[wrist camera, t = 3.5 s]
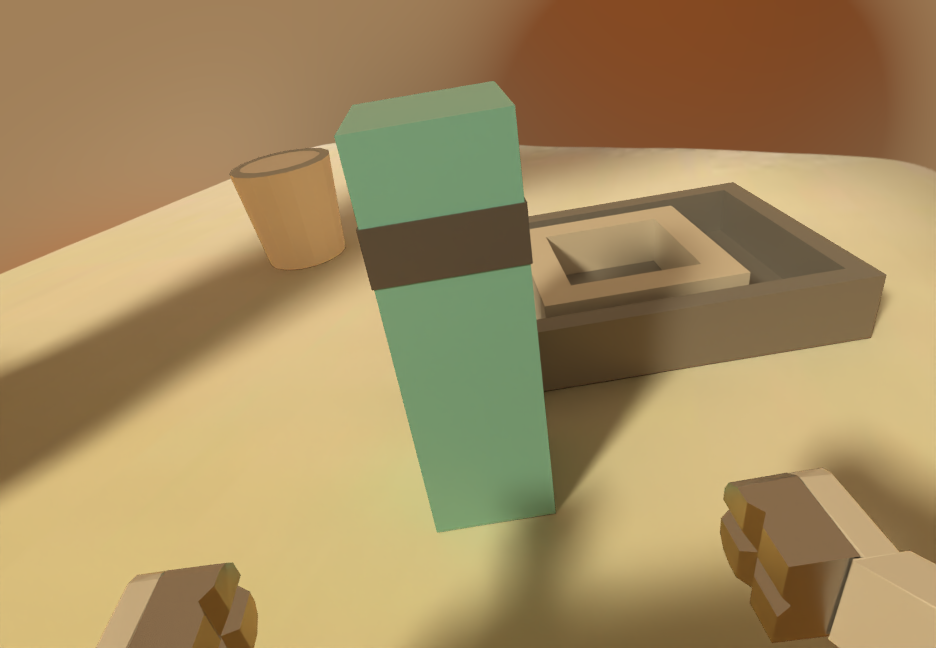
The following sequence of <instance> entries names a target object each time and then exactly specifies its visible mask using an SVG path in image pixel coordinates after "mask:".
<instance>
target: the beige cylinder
mask: <svg viewBox="0 0 936 648" xmlns="http://www.w3.org/2000/svg"><path fill="white" fill-rule="evenodd" d="M229 175H230V177H231V180H232V182H233V184H234V186H235V188H236V190H237V192H238V195H239V197H240V199H241V201H242V203H243V205H244V207H245V210H246V212H247V214H248V216H249V218H250V220H251V222H252V225H253V227H254V229H255V231H256V233H257V235H258V237H259V240H260V242H261V244H262V246H263V248H264V250H265V252H266V255H267V257H268V259H269V261H270V263H271V265H272V266H274V267H275V268H276V269H283V270H295V269H303V268H308V267H312V266H316V265H319V264H322V263H324V262H327V261H329V260H331V259H333V258H334V257H336V256H338V255H339V254H341V253H342V251H343V250H344V249H345V241H344V236H343V230H342V224H341V219H340V213H339V207H338V202H337V196H336V190H335V185H334V179H333V173H332V168H331V162H330V157H329V151H328V150H326V149H322V148H305V149H297V150H289V151H283V152H279V153H274V154H270V155H267V156H263V157H260V158H257V159H254V160H252V161H249V162H246V163H244V164H241V165H239V166H238V167H236V168H235V169H233V170H231V172H230V174H229Z"/></svg>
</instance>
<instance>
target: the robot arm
mask: <svg viewBox="0 0 936 648" xmlns="http://www.w3.org/2000/svg"><path fill="white" fill-rule="evenodd" d="M723 500H724V501H725V503H726V505H727V506H728V508H729V510H728V511H727V512H726V513H725V515H724V516H723V517H722V518H721V526H720V535H721V540H722V545H723V550H724V552H725V555H726V558H727V560H728V563H729V565H730V567H731V569H732V570H733V572H734V574H735V576H736V577H737V578H738V579H740V580H741V581H743V582H744V583H746V584H747V585H749V586H750V587H752V591H751V597H750V604H751V606H752V608H753V610H754V611H755V613H756V615H757V617H758V619H759V621H760V622H761V624H762V626H763V628H764V630H765V631H766V633H767V635H768V637H769V639H770V641H771V642H772V643H777V642H785V641H793V640H801V639H809V638H817V637H825V636H829V638H828V639H829V640H830V641H831V642H832V643H834V644H835V645H836V646H837V647H839V648H936V564H935V563H933V562H931V561H929V560H927V559H925V558H923V557H921V556H919V555H918V554H916V553H914V552H912V551H902V552H900V551H899V550H898V549H897V548H896V547H895V546H894V545H893V543H892V542H891V541H890V540H889V539H888V538H887V537H886V535H885V534H884V533H883V532H882V531H881V530H880V528H879V527H878V526H877V525H876V524H875V523H874V522H873V520H872V519H871V518H870V517H869V516H868V515H867V513H866V512H865V511H864V510H863V509H862V508H861V507H860V505H859V504H858V503H857V502H856V501H855V500H854V498H853V497H852V496H851V495H850V494H849V493H848V492H847V490H846V489H845V488H844V487H843V486H842V485H841V484H840V482H839V481H838V480H837V479H836V478H835V477H834V475H833V474H832V473H831V472H830V471H828V470H826V469H824V468H818V469H812V470H805V471H799V472H793V473H783V474H777V475H771V476H765V477H760V478H754V479H748V480H742V481H736V482H730V483H728V485H727V486H726V487H725V491H724V498H723ZM240 576H241V575H240V573H239V571H238V570H237V568H236V567H235V565H234V563H222V564H214V565H206V566H199V567H191V568H183V569H176V570H168V571H162V572H155V573H148V574H141V575H137V576H136V577H135V578H133V579H132V580H131V581H130V582H129V583H128V585H127V586H126V588H125V590H124V592H123V594H122V596H121V598H120V600H119V602H118V604H117V606H116V608H115V610H114V612H113V614H112V616H111V618H110V620H109V622H108V624H107V626H106V628H105V630H104V632H103V634H102V636H101V638H100V640H99V642H98V644H97V646H96V648H254V646H255V641H256V637H257V626H258V613H257V609H256V604H255V601H254V599H253V597H252V595H251V593H250V592H249V591H247V590H245V589H243V588H241V587H239V586H238V583H239V579H240Z"/></svg>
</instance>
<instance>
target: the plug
mask: <svg viewBox="0 0 936 648" xmlns="http://www.w3.org/2000/svg"><path fill="white" fill-rule="evenodd" d="M334 137H335V141H336V145H337V148H338V152H339V156H340V160H341V164H342V168H343V172H344V175H345V179H346V183H347V187H348V191H349V195H350V199H351V202H352V206H353V210H354V214H355V218H356V222H357V225H358V227H357V235H358V239H359V243H360V247H361V251H362V254H363V258H364V262H365V266H366V270H367V273H368V277H369V281H370V285H371V289H372V290H374V291H375V295H376V299H377V303H378V306H379V310H380V314H381V318H382V322H383V326H384V330H385V333H386V337H387V341H388V345H389V349H390V353H391V356H392V360H393V364H394V368H395V372H396V376H397V380H398V383H399V387H400V391H401V395H402V399H403V403H404V407H405V410H406V414H407V418H408V422H409V426H410V430H411V434H412V437H413V441H414V445H415V449H416V453H417V457H418V460H419V464H420V468H421V472H422V476H423V480H424V484H425V487H426V491H427V495H428V499H429V503H430V507H431V511H432V514H433V518H434V522H435V526H436V530H437V532H444V531H450V530H456V529H462V528H468V527H474V526H481V525H487V524H493V523H499V522H505V521H511V520H518V519H524V518H530V517H536V516H542V515H548V514H555V513H556V510H555V500H554V490H553V480H552V470H551V461H550V451H549V441H548V431H547V421H546V411H545V401H544V391H543V381H542V371H541V361H540V351H539V341H538V331H537V321H536V311H535V301H534V291H533V281H532V271H531V264H533V259H532V248H531V238H530V228H529V218H528V208H527V201H526V200H525V198H524V192H523V182H522V172H521V162H520V152H519V142H518V132H517V122H516V112H515V105H514V104H513V103H512V101H511V100H510V99H509V98H508V97H507V96H506V94H505V93H504V92H503V91H502V90H501V89H500V87H499V86H498V85H497V84H496V83H495V82H494V81H491V82H485V83H479V84H473V85H467V86H462V87H456V88H450V89H444V90H438V91H432V92H426V93H420V94H414V95H409V96H403V97H397V98H391V99H385V100H379V101H373V102H368V103H362V104H356V105H352V107H351V109H350V110H349V112H348V114H347V115H346V117H345V119H344V121H343V122H342V124H341V126H340V127H339V129H338V131H337V132H336V134H335V136H334Z"/></svg>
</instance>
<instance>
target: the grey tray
mask: <svg viewBox="0 0 936 648" xmlns="http://www.w3.org/2000/svg"><path fill="white" fill-rule="evenodd" d="M528 218H529V228H530V238H531V248H532V259H533V264H531V271H532V281H533V291H534V301H535V311H536V321H537V331H538V341H539V351H540V361H541V371H542V381H543V391H549V390H555V389H561V388H567V387H573V386H579V385H585V384H591V383H597V382H603V381H609V380H616V379H622V378H628V377H634V376H640V375H646V374H652V373H658V372H664V371H670V370H677V369H683V368H689V367H695V366H701V365H707V364H713V363H719V362H725V361H731V360H737V359H744V358H750V357H756V356H762V355H768V354H774V353H780V352H786V351H792V350H798V349H804V348H811V347H817V346H823V345H829V344H835V343H841V342H847V341H853V340H859V339H865V338H871V335H872V331H873V327H874V323H875V319H876V315H877V311H878V307H879V303H880V299H881V295H882V291H883V287H884V283H885V279H886V274H884V273H883V272H881V271H879V270H878V269H876V268H874V267H873V266H871V265H869V264H868V263H866V262H864V261H863V260H861V259H859V258H858V257H856V256H854V255H853V254H851V253H849V252H848V251H846V250H844V249H843V248H841V247H839V246H838V245H836V244H834V243H833V242H831V241H830V240H828V239H826V238H825V237H823V236H821V235H820V234H818V233H816V232H815V231H813V230H811V229H810V228H808V227H806V226H805V225H803V224H801V223H800V222H798V221H796V220H795V219H793V218H791V217H790V216H788V215H786V214H785V213H783V212H781V211H780V210H778V209H776V208H775V207H773V206H772V205H770V204H768V203H767V202H765V201H763V200H762V199H760V198H758V197H757V196H755V195H753V194H752V193H750V192H748V191H747V190H745V189H743V188H742V187H740V186H738V185H737V184H735V183H733V182H732V183H726V184H720V185H714V186H708V187H702V188H696V189H690V190H684V191H678V192H672V193H666V194H660V195H654V196H648V197H642V198H636V199H630V200H624V201H618V202H612V203H606V204H600V205H594V206H589V207H583V208H577V209H571V210H565V211H559V212H553V213H547V214H541V215H535V216H529V217H528Z"/></svg>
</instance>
